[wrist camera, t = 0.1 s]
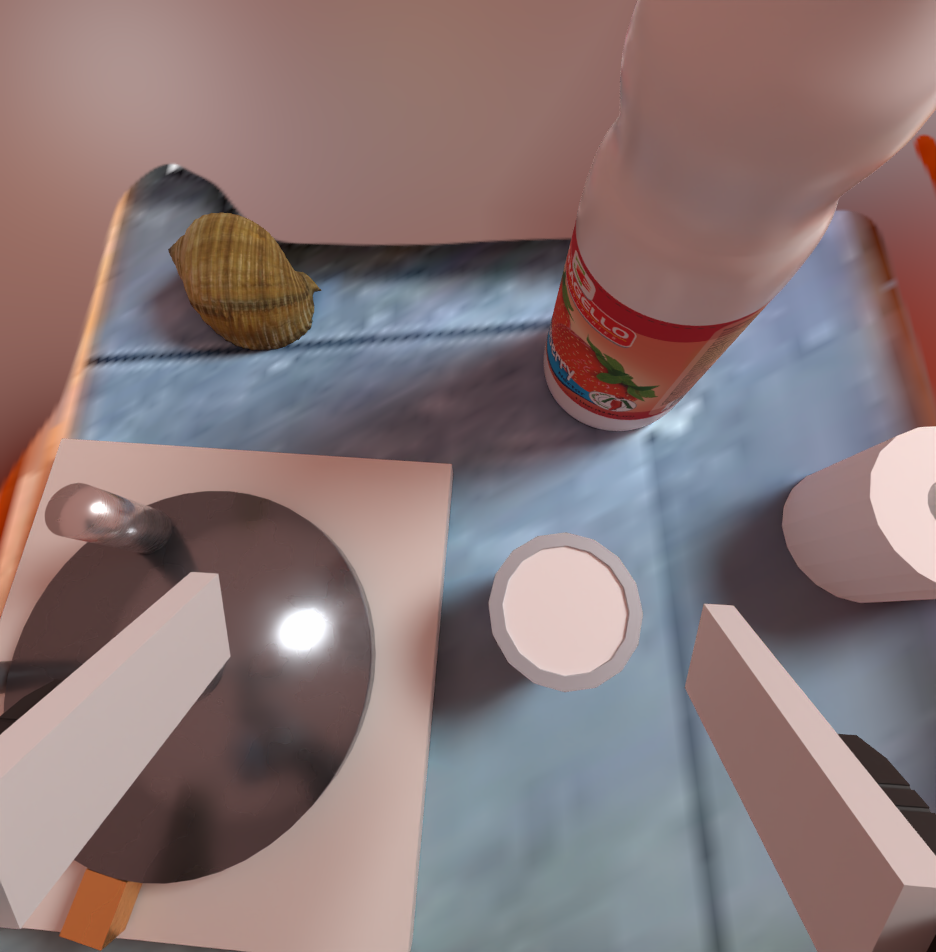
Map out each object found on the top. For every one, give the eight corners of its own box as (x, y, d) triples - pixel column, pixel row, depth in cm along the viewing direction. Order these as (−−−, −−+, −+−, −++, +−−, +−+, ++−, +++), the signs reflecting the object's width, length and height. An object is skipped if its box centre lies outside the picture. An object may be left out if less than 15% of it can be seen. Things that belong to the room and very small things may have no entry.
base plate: (412, 940, 24) (397, 1013, 19) (-56, 892, 25) (-172, 950, 20) (453, 473, 31) (449, 448, 26) (87, 449, 32) (23, 421, 27)
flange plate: (443, 616, 26) (432, 614, 20) (179, 1011, 21) (51, 1177, 15) (198, 441, 29) (120, 389, 23) (-77, 750, 24) (-273, 795, 18)
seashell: (328, 335, 39) (330, 225, 34) (308, 369, 33) (308, 241, 28) (198, 315, 37) (183, 197, 33) (154, 346, 31) (129, 208, 27)
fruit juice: (702, 417, 32) (1982, -746, 5) (563, 450, 31) (1110, -643, 4) (653, 298, 34) (1290, -871, 7) (524, 326, 34) (709, -817, 7)
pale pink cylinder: (604, 679, 27) (647, 698, 20) (482, 670, 27) (484, 686, 21) (603, 556, 29) (641, 536, 22) (488, 549, 29) (492, 527, 23)
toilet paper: (996, 576, 28) (1155, 562, 22) (814, 616, 28) (919, 614, 21) (929, 447, 31) (1054, 399, 24) (760, 483, 30) (840, 443, 24)
